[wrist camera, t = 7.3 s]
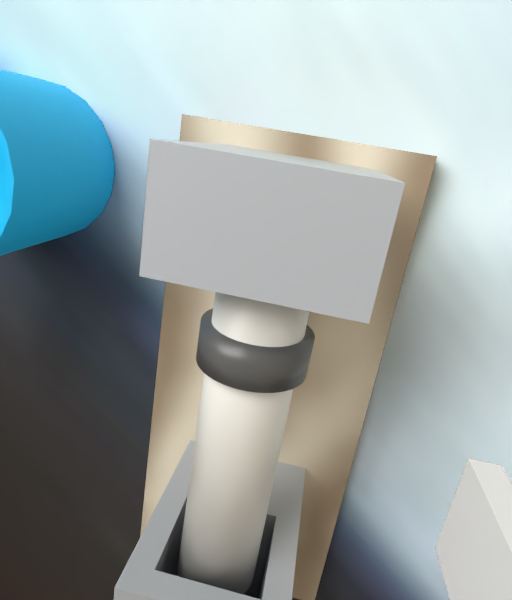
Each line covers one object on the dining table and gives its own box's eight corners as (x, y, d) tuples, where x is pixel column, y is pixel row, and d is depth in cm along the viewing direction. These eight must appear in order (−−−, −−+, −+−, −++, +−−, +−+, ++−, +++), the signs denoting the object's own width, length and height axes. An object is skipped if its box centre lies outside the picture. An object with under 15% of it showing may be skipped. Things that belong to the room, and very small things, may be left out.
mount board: (144, 542, 32) (138, 554, 31) (188, 115, 23) (182, 114, 22) (314, 589, 31) (313, 603, 30) (432, 156, 22) (436, 156, 21)
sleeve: (278, 581, 30) (251, 778, 20) (175, 553, 31) (103, 730, 21) (305, 468, 27) (287, 636, 18) (190, 439, 28) (114, 587, 18)
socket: (356, 253, 23) (369, 323, 13) (218, 226, 23) (139, 276, 14) (375, 169, 21) (405, 183, 12) (229, 144, 22) (149, 138, 13)
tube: (268, 541, 24) (253, 624, 19) (186, 520, 24) (154, 596, 20) (344, 194, 18) (345, 207, 14) (234, 174, 18) (203, 181, 14)
